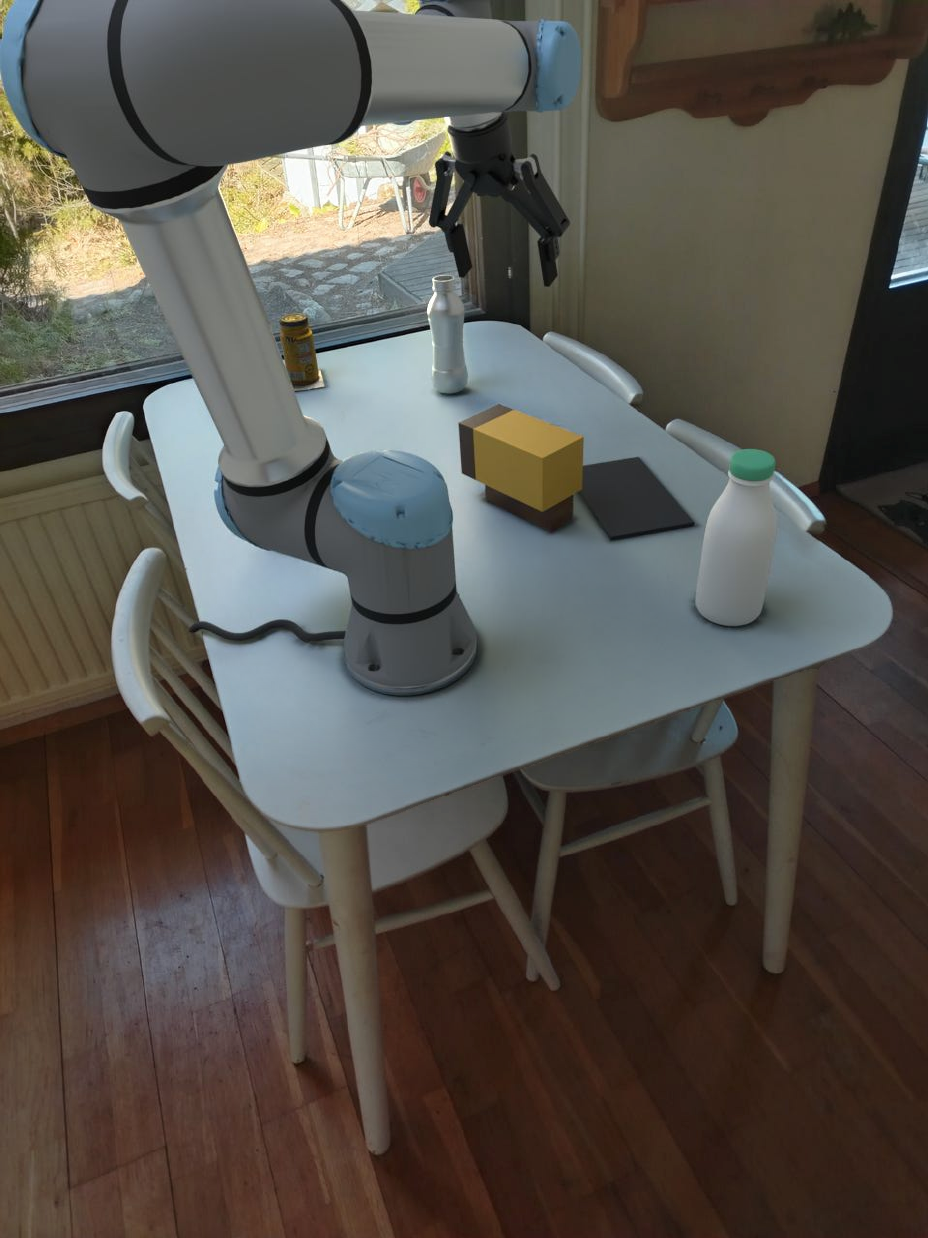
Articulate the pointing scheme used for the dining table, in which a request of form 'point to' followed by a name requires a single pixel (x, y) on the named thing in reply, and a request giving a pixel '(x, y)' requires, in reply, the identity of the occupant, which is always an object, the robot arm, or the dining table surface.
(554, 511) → the walnut block
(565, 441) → the tea tin
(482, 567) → the dining table surface
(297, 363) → the condiment
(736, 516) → the milk bottle
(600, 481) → the mat
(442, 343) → the plastic bottle
